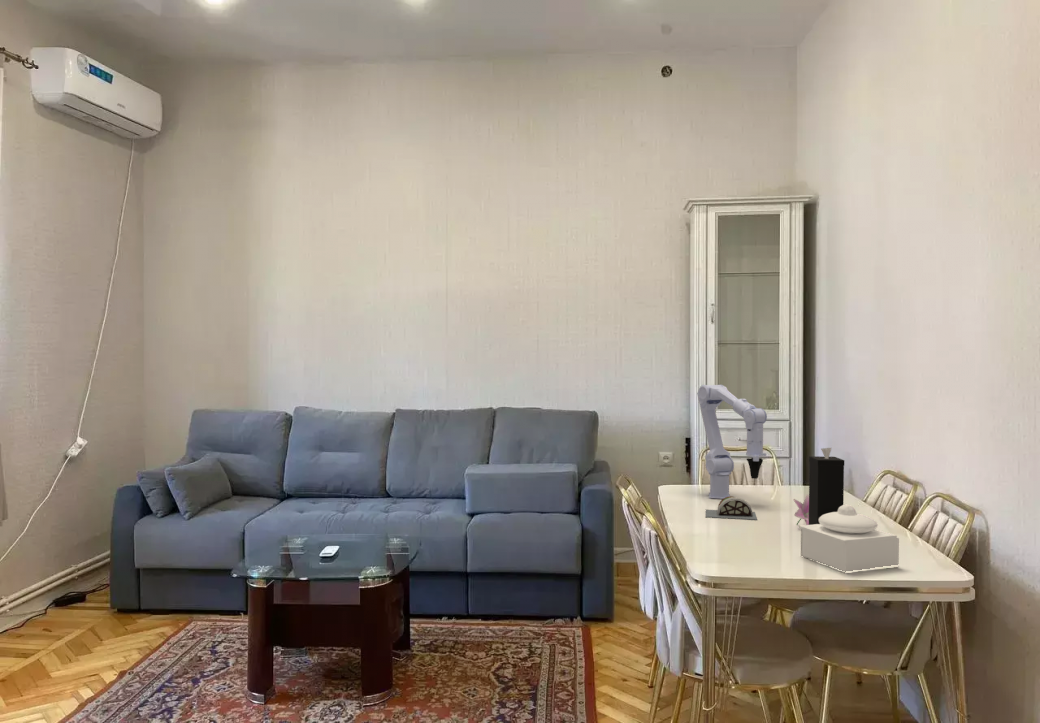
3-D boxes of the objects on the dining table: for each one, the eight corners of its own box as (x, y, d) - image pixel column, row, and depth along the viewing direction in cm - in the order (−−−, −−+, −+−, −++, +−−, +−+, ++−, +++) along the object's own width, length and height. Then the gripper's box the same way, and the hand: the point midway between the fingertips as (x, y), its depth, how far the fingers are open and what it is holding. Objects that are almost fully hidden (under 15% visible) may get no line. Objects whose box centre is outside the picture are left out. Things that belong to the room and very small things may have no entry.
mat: (705, 510, 277) (705, 509, 277) (754, 512, 273) (754, 511, 273) (705, 517, 266) (705, 516, 266) (757, 520, 262) (757, 519, 262)
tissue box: (808, 535, 241) (809, 445, 240) (833, 535, 240) (834, 446, 240) (817, 541, 233) (818, 449, 232) (843, 542, 233) (844, 449, 232)
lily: (787, 533, 248) (801, 509, 244) (777, 511, 259) (790, 489, 255) (821, 544, 249) (835, 520, 246) (810, 522, 260) (823, 499, 256)
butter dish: (898, 568, 206) (899, 509, 206) (843, 574, 200) (844, 513, 200) (850, 551, 222) (851, 496, 222) (798, 557, 217) (799, 500, 216)
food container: (748, 493, 275) (754, 498, 265) (748, 510, 276) (753, 516, 266) (713, 492, 277) (717, 497, 267) (713, 509, 277) (717, 515, 267)
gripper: (767, 444, 276) (767, 482, 276) (764, 439, 290) (764, 475, 290) (747, 443, 278) (746, 481, 278) (745, 438, 292) (744, 474, 292)
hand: (754, 478), depth 284 cm, fingers closed
